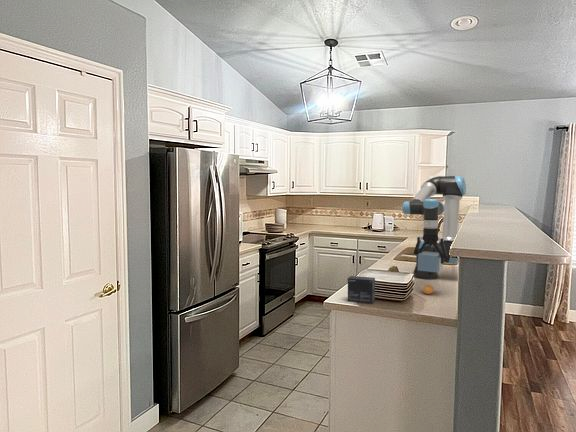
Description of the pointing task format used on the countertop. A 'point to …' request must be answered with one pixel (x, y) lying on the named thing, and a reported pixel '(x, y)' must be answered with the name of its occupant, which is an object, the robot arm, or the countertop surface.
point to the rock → (393, 269)
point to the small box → (361, 289)
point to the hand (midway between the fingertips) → (430, 268)
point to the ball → (428, 289)
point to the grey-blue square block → (428, 261)
